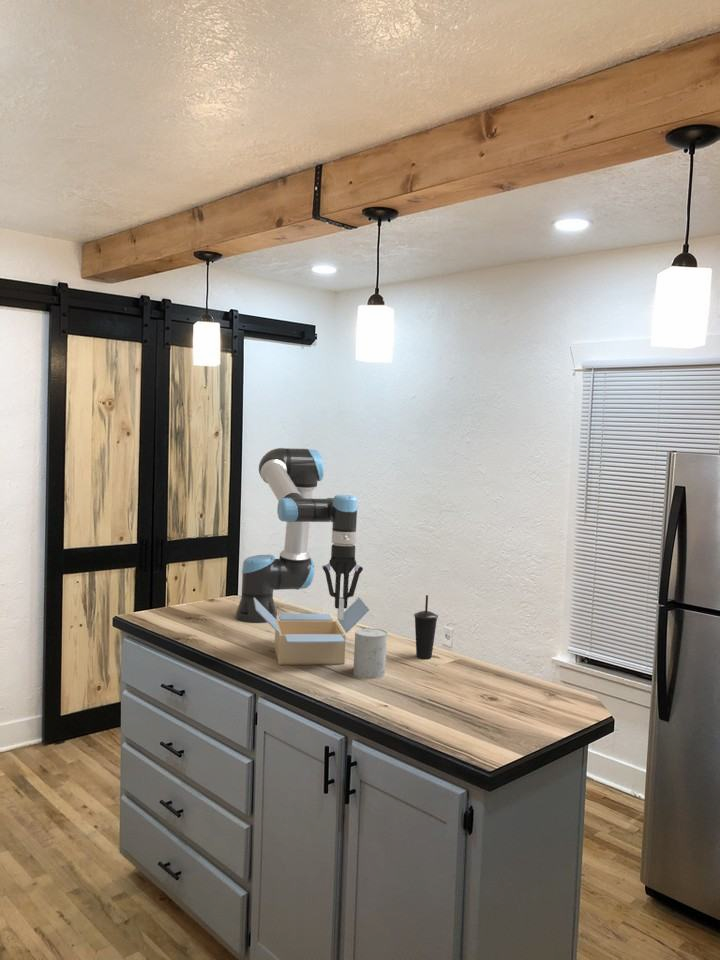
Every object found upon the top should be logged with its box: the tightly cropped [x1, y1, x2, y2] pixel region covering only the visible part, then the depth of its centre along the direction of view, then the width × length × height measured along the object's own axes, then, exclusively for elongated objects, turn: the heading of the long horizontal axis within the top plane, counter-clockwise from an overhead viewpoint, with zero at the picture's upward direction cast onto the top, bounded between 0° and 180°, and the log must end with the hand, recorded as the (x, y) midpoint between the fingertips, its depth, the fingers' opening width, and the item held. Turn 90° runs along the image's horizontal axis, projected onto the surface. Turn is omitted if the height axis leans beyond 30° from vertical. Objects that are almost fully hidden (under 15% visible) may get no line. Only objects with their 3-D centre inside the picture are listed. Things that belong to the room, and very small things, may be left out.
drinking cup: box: [413, 594, 439, 660], centre depth 244 cm, size 8×8×20 cm
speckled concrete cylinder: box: [352, 627, 388, 680], centre depth 225 cm, size 10×10×12 cm
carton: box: [274, 613, 347, 666], centre depth 240 cm, size 34×20×9 cm, turn 10°
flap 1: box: [253, 598, 280, 633], centre depth 237 cm, size 17×10×1 cm
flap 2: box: [337, 597, 370, 634], centre depth 242 cm, size 17×10×1 cm
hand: (340, 618), depth 241 cm, fingers closed
